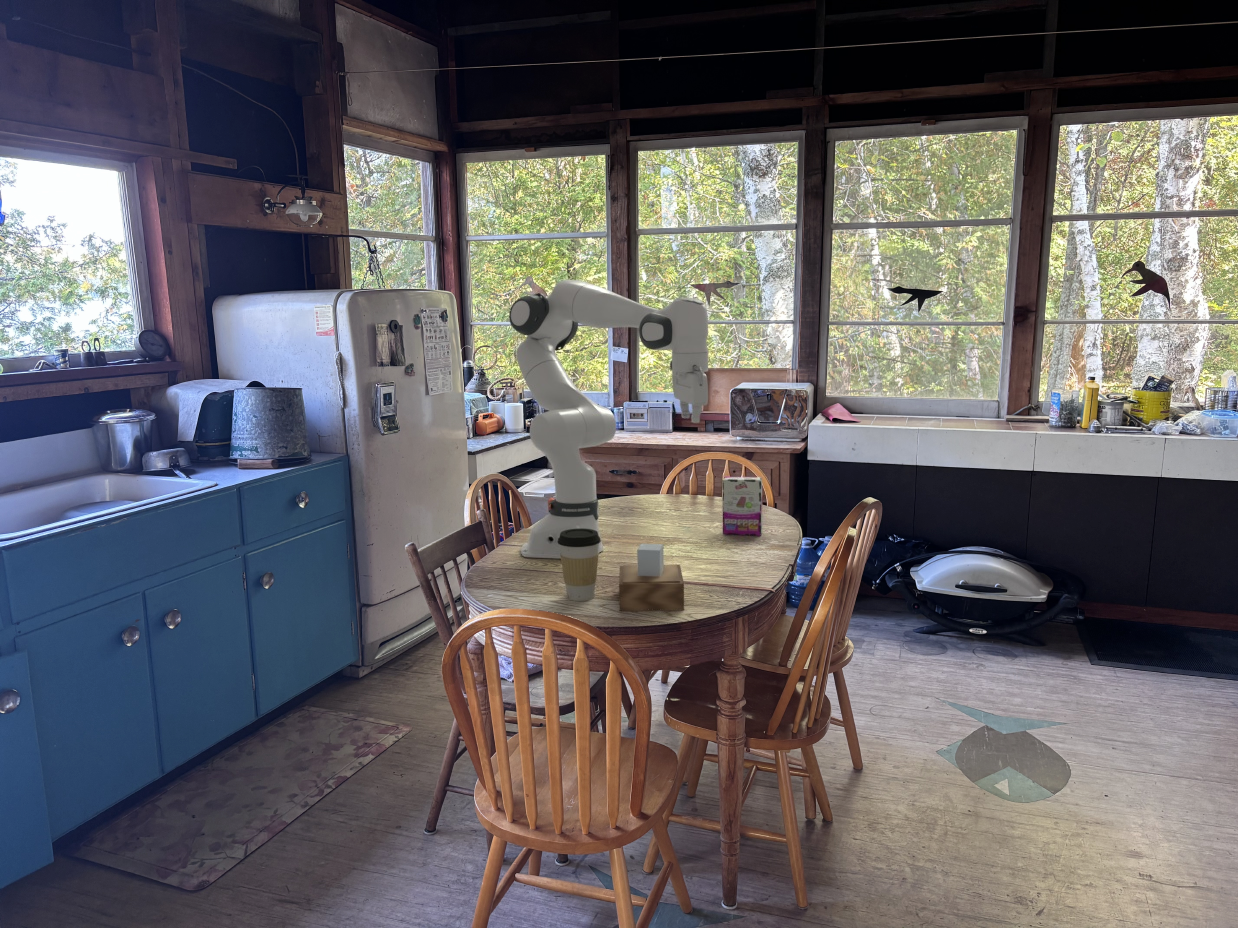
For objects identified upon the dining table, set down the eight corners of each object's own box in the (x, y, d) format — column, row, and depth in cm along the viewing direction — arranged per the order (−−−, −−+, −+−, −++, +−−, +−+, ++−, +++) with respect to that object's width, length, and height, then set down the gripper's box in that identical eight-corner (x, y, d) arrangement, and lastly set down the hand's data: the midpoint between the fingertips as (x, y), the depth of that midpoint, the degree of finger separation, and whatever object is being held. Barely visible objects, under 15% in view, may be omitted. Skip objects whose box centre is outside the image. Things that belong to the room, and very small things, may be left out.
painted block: (637, 575, 191) (637, 549, 190) (641, 569, 195) (641, 543, 194) (659, 576, 190) (659, 550, 189) (663, 570, 194) (663, 544, 193)
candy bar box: (762, 531, 250) (763, 476, 247) (761, 536, 246) (761, 480, 243) (724, 530, 253) (724, 475, 250) (722, 534, 248) (722, 479, 245)
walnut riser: (619, 610, 187) (619, 583, 186) (620, 590, 201) (619, 564, 199) (684, 609, 187) (683, 582, 185) (680, 589, 200) (680, 563, 199)
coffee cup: (601, 589, 202) (600, 527, 199) (602, 603, 192) (600, 538, 189) (559, 590, 201) (557, 528, 199) (558, 604, 192) (556, 539, 189)
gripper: (714, 366, 201) (714, 425, 204) (692, 361, 221) (692, 415, 224) (688, 367, 200) (688, 426, 203) (668, 362, 220) (668, 416, 223)
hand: (690, 420), depth 213 cm, fingers open, 8 cm apart
